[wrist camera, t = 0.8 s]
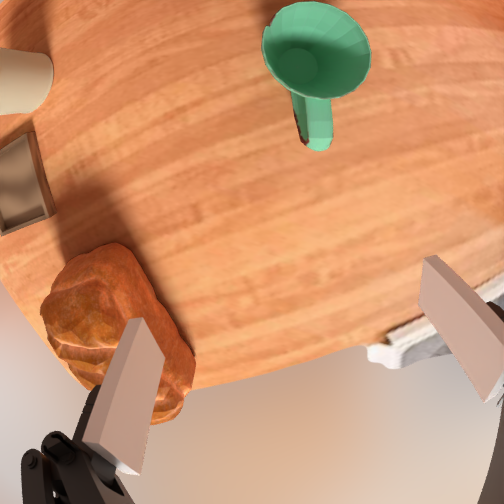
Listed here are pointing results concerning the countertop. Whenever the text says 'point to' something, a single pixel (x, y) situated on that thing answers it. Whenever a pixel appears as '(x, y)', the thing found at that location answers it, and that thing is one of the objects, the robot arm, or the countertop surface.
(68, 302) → the bread
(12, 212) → the tray
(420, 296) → the robot arm
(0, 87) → the can
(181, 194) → the countertop surface
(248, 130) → the countertop surface
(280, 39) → the mug
